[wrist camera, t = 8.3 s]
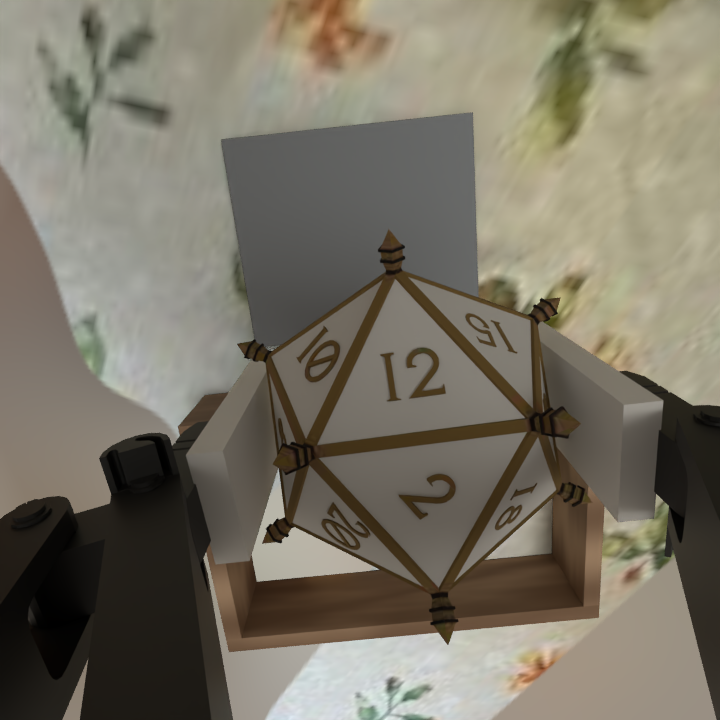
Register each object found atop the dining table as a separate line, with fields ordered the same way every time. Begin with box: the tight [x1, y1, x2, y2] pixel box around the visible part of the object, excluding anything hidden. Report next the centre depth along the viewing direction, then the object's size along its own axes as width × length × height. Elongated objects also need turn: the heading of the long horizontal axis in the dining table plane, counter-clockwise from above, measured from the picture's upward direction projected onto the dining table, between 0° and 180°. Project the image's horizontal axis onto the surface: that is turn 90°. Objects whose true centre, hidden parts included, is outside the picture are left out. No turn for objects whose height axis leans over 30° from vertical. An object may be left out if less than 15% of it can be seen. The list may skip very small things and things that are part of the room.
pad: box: [221, 112, 478, 347], centre depth 28 cm, size 12×14×1 cm
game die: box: [237, 229, 593, 645], centre depth 12 cm, size 9×8×10 cm
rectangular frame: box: [178, 393, 604, 652], centre depth 31 cm, size 16×24×5 cm, turn 96°
